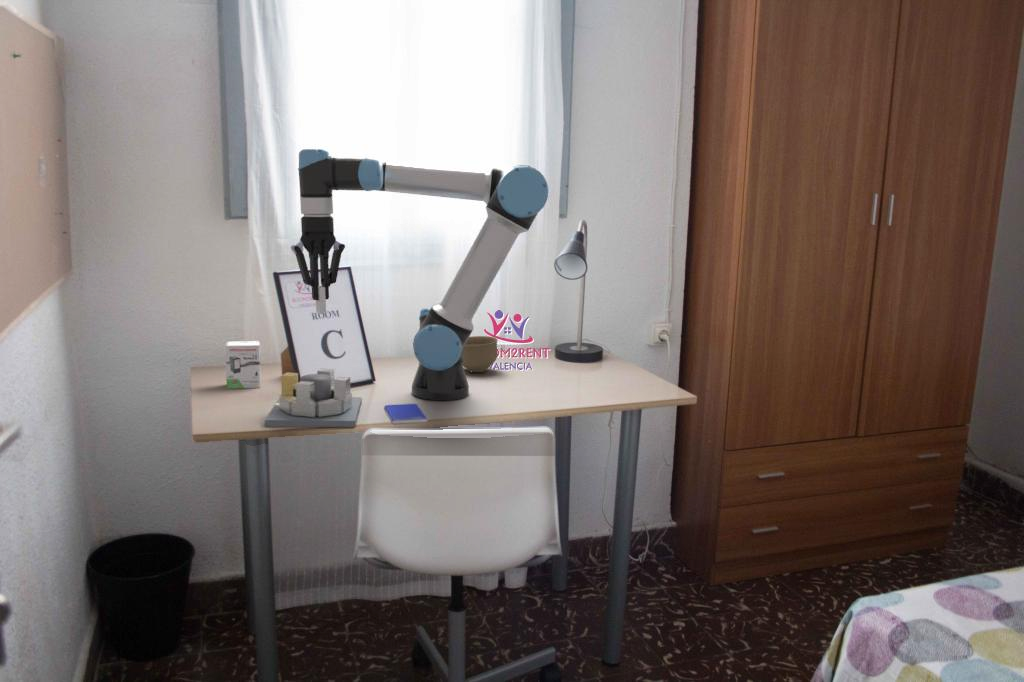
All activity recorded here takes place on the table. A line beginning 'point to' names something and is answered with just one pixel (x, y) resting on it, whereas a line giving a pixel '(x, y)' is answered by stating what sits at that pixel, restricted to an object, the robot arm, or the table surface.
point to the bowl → (479, 353)
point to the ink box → (243, 364)
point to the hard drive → (405, 413)
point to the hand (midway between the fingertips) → (321, 312)
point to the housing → (338, 420)
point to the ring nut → (301, 396)
